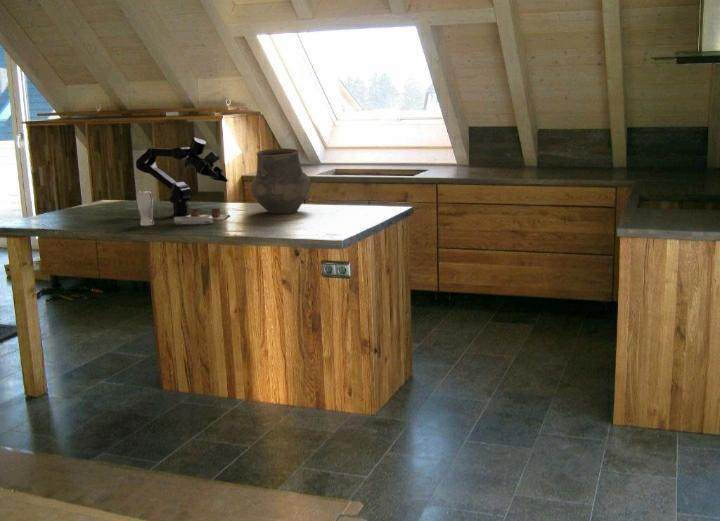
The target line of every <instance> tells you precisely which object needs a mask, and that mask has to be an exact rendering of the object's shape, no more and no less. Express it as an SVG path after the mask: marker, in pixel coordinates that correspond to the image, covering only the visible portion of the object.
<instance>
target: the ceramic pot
mask: <svg viewBox="0 0 720 521" xmlns="http://www.w3.org/2000/svg"><path fill="white" fill-rule="evenodd" d="M299 154H300V153H299V150H298V149H294V148H268V149H263V150H259V151H257V152H256V157H257V158H256V172H255V173H256V174H255V178H254V179H253V180H252V182H251V184H250V190H251V194H252V197H253V198H254V199H255V200H256V201H257V203H258V205H260V206H261V207H262V208H263V209H264V210H265V211H267V212H268V213H269V214H271V215H287V214H288V215H289V214H294V213H297V211H298V210H299V209H300V207H301V206H302V204H303V203H304V201H305V199H306V198H307V195H308V193H309V191H310V188H311V179H310V177H309V176H308V175H307V174H306V172H304V171H303V169H302V165H301V163H300V158H299Z"/></svg>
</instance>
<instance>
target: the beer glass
mask: <svg viewBox="0 0 720 521" xmlns="http://www.w3.org/2000/svg"><path fill="white" fill-rule="evenodd" d="M136 200H137V207H138V212H139V214H140V226H141V227H149V226H154V225H155V221H154V216H153V214H154V196H153V192H152V191H151V190H143V191H141V190H140V191H137V192H136Z"/></svg>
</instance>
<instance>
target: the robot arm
mask: <svg viewBox="0 0 720 521" xmlns="http://www.w3.org/2000/svg"><path fill="white" fill-rule="evenodd" d="M206 145H207V141H206V140H204V139H201V138H198V137H192V140H191V142H190V146H181V147H175V148H170V147H168V148H167V147H154V146H153V147H148V149H147V150H146V151H145V152H144V153H143V154H142V155H140V156H139V158H137V159H136V161H135V166H136V169H137V170H139V171H141V172H142V173H145V174H149V175H151V176H152V177H153V178H154V179H156V180H157V181H158V182H160V183H161V184H162V185H163V186H165V187H166V188H167V189H169V190H170V193H171V196H170V197H169V202H170V204H172V205H173V206H172V209H173V214H172V216H188V215H190V214H191V211H190V206H189V204H188V202H190V199H191V196H192V189H191V187H190V185H188V184H186V182H185V181H178V182H177V181H176V180H174V179H173V178H172V177H171V176H170V175H168V174H167V173H166V172H164V171H163V170H161V169H160V168H159V167H158V166H157V164H156V162H157V158H158V157H169V158H173V159H176V160H185V161H183V163H184V167H185V168H187V167H188V168H189V167H193V168H194V169H195V172H196V173H197V174H199V175H200V176H201V175H202V176H204V177H209V178H211V179H212V180H213V181H216V182H224V183H227V182H228V181H229V180H228V179H227V177H226V176H225V175H224V173H223V172H224V169H222V168H221V167H219V166H214V165H215V163H216V162H217V161H219V160H220V155H219V154H217V152H215V151H212V150H211V151H210V152H209V153H208V154H207V155H206V156H205V157H204V158H203V157H201V156H200V155H203V154H204V150H205V148H206ZM213 167H214V168H213Z"/></svg>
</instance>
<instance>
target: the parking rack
mask: <svg viewBox="0 0 720 521" xmlns="http://www.w3.org/2000/svg"><path fill="white" fill-rule="evenodd" d="M210 210H211V211H210V212H211V214H200V208H199V207H191V208H190V214H187V215H185V217H208V216H212V217H213V222H215V221H216V222H217V221H218V222H219V221H220V222H221V221H222V222H223V221H225V220H227V219H229V218H231V214H221V212H220V210H221V207H212V208H211V209H210Z"/></svg>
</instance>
